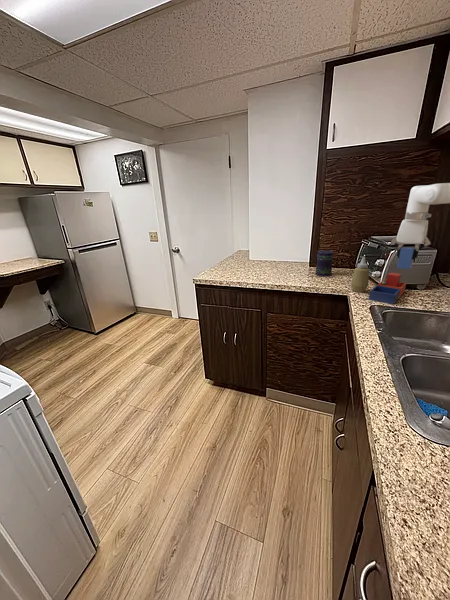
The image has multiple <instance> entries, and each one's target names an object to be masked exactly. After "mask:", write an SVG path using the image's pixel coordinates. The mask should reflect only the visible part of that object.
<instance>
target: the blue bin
mask: <svg viewBox="0 0 450 600" xmlns="http://www.w3.org/2000/svg"><path fill="white" fill-rule="evenodd" d="M399 294H400V289H395V288H389V287H384V286H378V284H377V285H375V286H374V287H373V288H371V289H370V290H369V295H368V300H371V301H375V302H380V303H384V304H389V305H394V304H395V303H396V302H397V300H399V298H400V297H399Z"/></svg>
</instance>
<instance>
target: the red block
mask: <svg viewBox="0 0 450 600" xmlns="http://www.w3.org/2000/svg"><path fill="white" fill-rule="evenodd" d="M401 277H402V273H397V272H391V273H390V272H389V273H388V274H387V276H386V279H385V280H386V285H388V286H394V287H398V286H399V282H401V281H400V280H401Z"/></svg>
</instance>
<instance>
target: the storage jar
mask: <svg viewBox="0 0 450 600" xmlns="http://www.w3.org/2000/svg"><path fill="white" fill-rule="evenodd" d="M334 253H335V251H333V250H327V249H323V250H317V254H316V265H315V276H318V277H330V276H332V271H333V260H334Z"/></svg>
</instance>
